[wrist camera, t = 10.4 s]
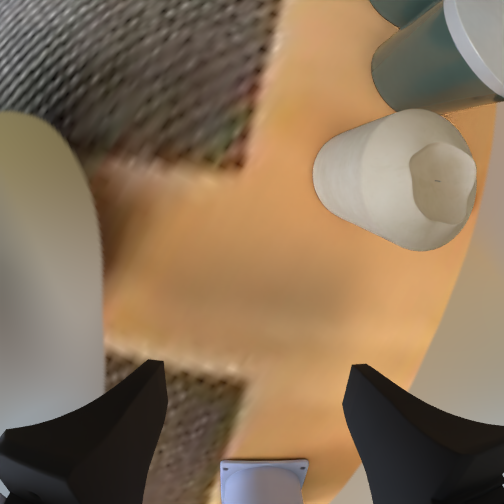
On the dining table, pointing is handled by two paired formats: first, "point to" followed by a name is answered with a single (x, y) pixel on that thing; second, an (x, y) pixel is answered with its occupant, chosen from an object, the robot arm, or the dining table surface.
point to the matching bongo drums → (441, 54)
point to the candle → (400, 178)
